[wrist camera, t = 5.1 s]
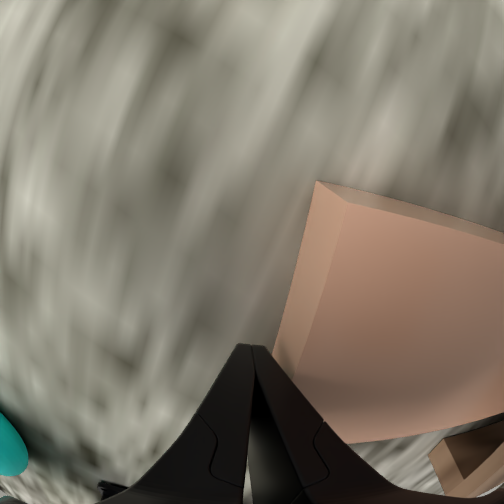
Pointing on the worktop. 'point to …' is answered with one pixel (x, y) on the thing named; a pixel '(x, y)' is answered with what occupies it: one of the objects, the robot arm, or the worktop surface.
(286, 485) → the robot arm
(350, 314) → the tile
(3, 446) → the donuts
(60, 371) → the worktop surface
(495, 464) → the shelf
